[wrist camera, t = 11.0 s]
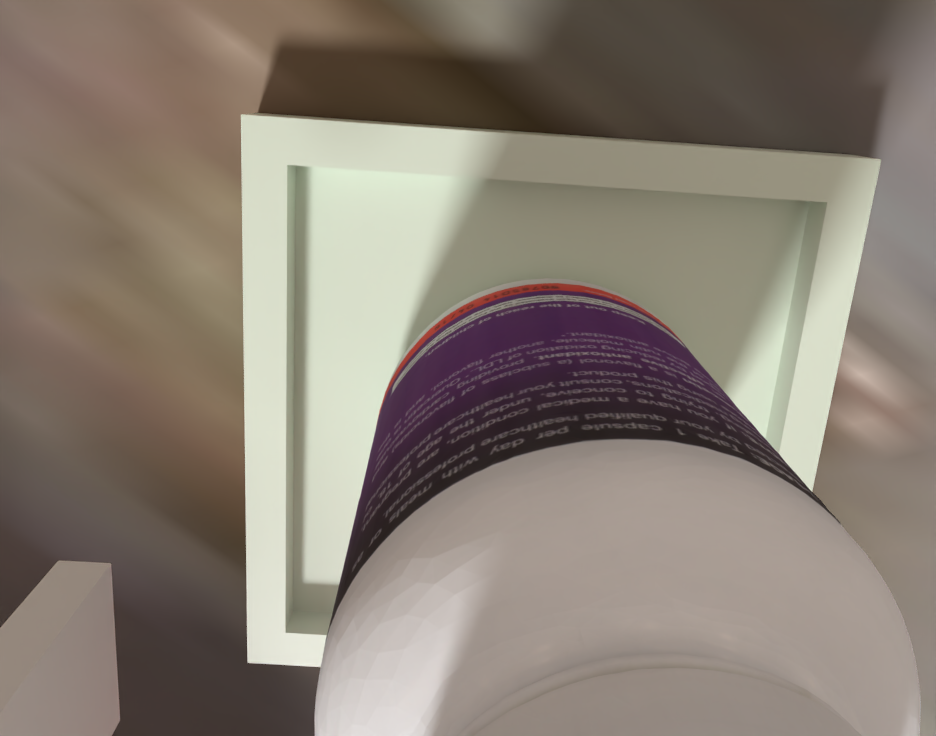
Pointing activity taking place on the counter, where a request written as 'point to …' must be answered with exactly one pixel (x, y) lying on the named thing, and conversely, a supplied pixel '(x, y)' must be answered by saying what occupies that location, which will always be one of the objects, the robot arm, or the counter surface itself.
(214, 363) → the counter surface
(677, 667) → the pill bottle
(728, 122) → the counter surface
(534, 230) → the tray
